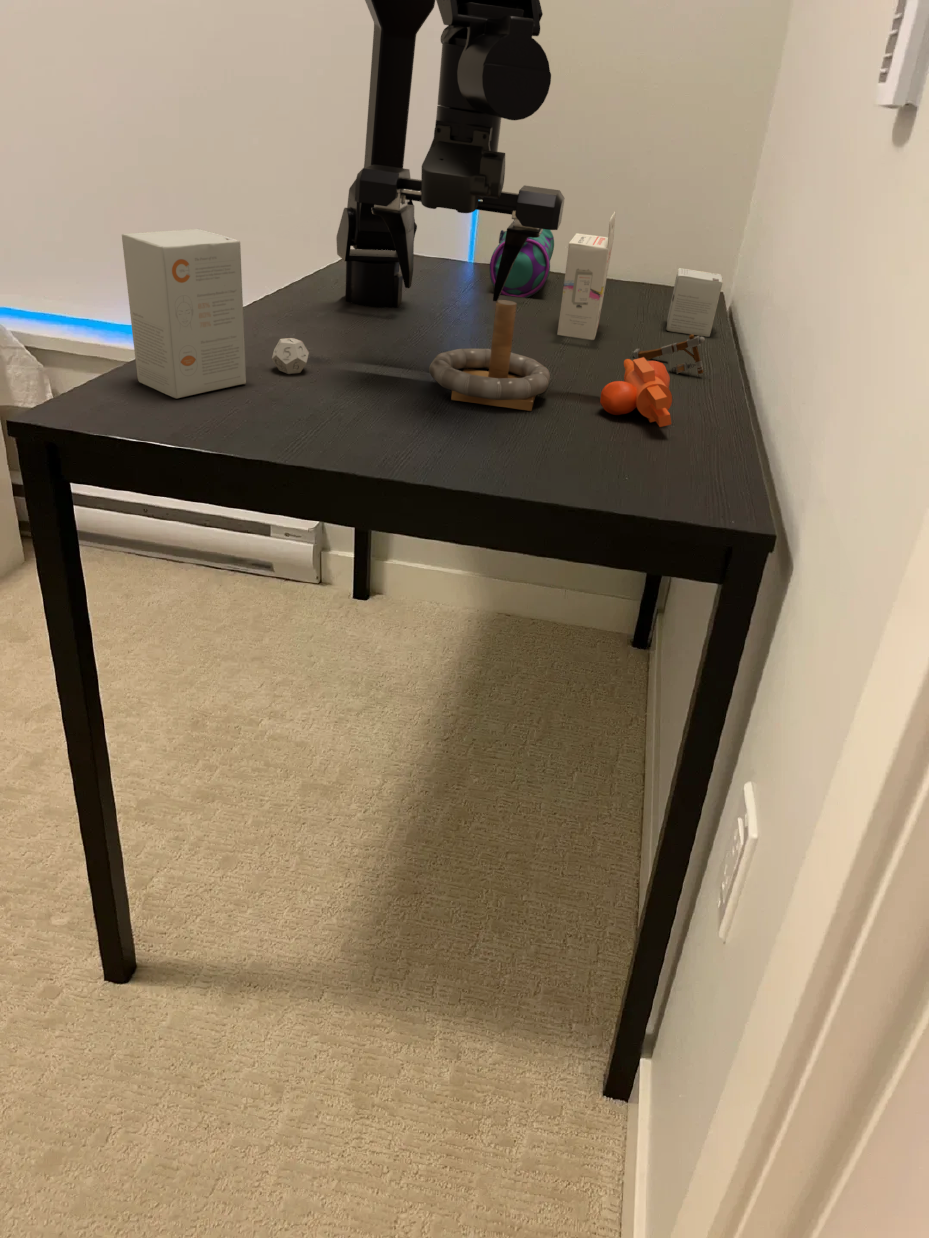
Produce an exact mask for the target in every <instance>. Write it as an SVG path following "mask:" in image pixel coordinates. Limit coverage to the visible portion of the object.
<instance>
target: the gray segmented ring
mask: <svg viewBox="0 0 929 1238" xmlns="http://www.w3.org/2000/svg"><path fill="white" fill-rule="evenodd" d="M490 354H491V348H457V349H452V350H448V351H444V352H440V353H439V354H437V355H436V356H435V357H434V358H433V360H432V362H430V365H429V368H428V372H429V375H430V376H431V378H432V379H433V380H434V381H436V382H437V383H438V385H440V386H441V387H442V388H444V389H447V390H450V391H451V392H452V391H455V392H458V393H461V394H464V395H467V396H472V397H479V398H486V399H494V400H511V399H526V398H529V397H532V396H535V395H536V396H537V395H542V394H544V393H545V392H546V391H547V389H548V387H549V383H550V381H551V373H550V370H549V369H548V368H547V367H546V366H544V365H543V364H542V363H540V362H538V361H537V360H536V359H534V358H531V357H528V356H525V355H521V354H518V353H515V352H512V351H511V356H510V364H509V372H508V373H510V374H512V375H517V376H522V377H523V378H492V377H485V376H477V375H471V374H468V373H465V372H463V370H464V369H484V370H485V369H486V370H489V363H490Z"/></svg>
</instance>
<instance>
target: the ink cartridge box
mask: <svg viewBox="0 0 929 1238" xmlns="http://www.w3.org/2000/svg"><path fill="white" fill-rule="evenodd" d="M608 222H609V223H608V234H607V235H608V236H602V235H594V234H586V233H578V232H576V233H575V234H574V235H573V237H572V238H571V240H569V242H568V247H567V248H568V249H567V257H566V265H565V272H564V279H563V288H562V295H561V304H560V309H559V310H560V311H559V318H558V324H557V332H556V335H557V336H563V337H570V338H575V339H583V340H590V341H594V340H595V339H596V336H597V333H598V328H599V324H600V319H601V313H602V308H603V302H604V295H605V290H606V285H607V280H608V273H609V267H610V262H611V255H612V249H613V243H614V237H615V226H616V225H615V224H616V211H613V214H611V216H610V218H609V221H608Z"/></svg>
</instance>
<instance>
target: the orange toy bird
mask: <svg viewBox="0 0 929 1238" xmlns="http://www.w3.org/2000/svg"><path fill="white" fill-rule="evenodd" d="M623 367H624V370H625V371H624V376H623V380H615V381H611V382H609V383H607V384H606V385H604V387H603V388H602V390H601V392H600V399H599V400H600V401H599V403H600V404H601V407H602V408H603V411H605V412H606V413H608V414H610V415H613V416H621V415H627V414H629V413H630V414H631V412H633V411H634V410H635V409H637V411H638V412H639V413H640V414H641V416H643V417H645V418H646V419H647V421H648V422H649V423H654V422H655V423H656V424H657V425H658V427H659V428H662V427H666V426H670V425H672V418H671V417H672V416H671V413H670V412H669V411H670V408H671V407H672V402H673V395H672V392H671V390H670V384H671V383H670V381H671V377H670V374H669V373H668V371H667V367H666V366H665V364H664V363H663V362H660V361H658V360H657V361H656V360H646V359H645V358H644V357H643V358H639V359H635V358H634V359H630V358H625V359H624V360H623Z"/></svg>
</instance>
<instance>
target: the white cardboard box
mask: <svg viewBox="0 0 929 1238" xmlns="http://www.w3.org/2000/svg"><path fill="white" fill-rule="evenodd" d="M723 284H724V283H723V275H722V274H721V273H715V272H708V271H702V270H695V269H689V268H683V267H681V268H680V267H679V268H678V269H677V272H676V276H675V280H674V286H673V291H672V295H671V300H670V304H669V309H668V314H667V317H666V328H665V330H666V331H668V332H673V333H677V334H687V335H691V334H693V335H694V336H699V337H704V338H710V337H711V332H712V329H713V325H714V320H715V316H716V312H717V308H718V304H719V299H720V295H721V291H722V287H723Z"/></svg>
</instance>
